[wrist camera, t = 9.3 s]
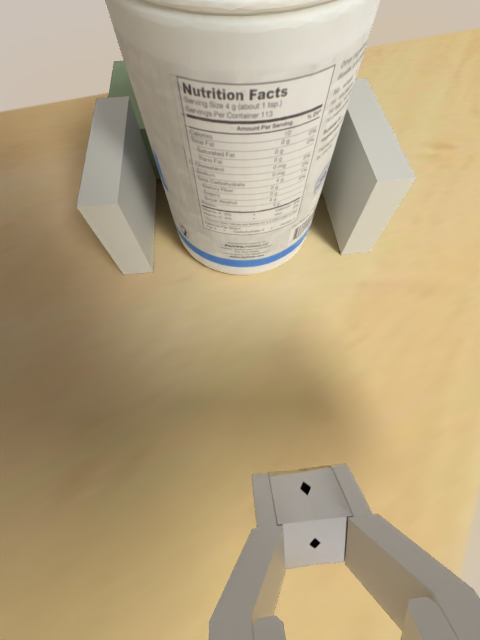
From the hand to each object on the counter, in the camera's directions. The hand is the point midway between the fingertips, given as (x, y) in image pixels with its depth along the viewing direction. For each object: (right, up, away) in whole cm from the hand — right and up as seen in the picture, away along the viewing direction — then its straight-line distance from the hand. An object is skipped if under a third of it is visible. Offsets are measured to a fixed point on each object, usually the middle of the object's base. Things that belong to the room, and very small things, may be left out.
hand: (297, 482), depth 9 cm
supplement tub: (-2, +12, +12) cm, 17 cm away
